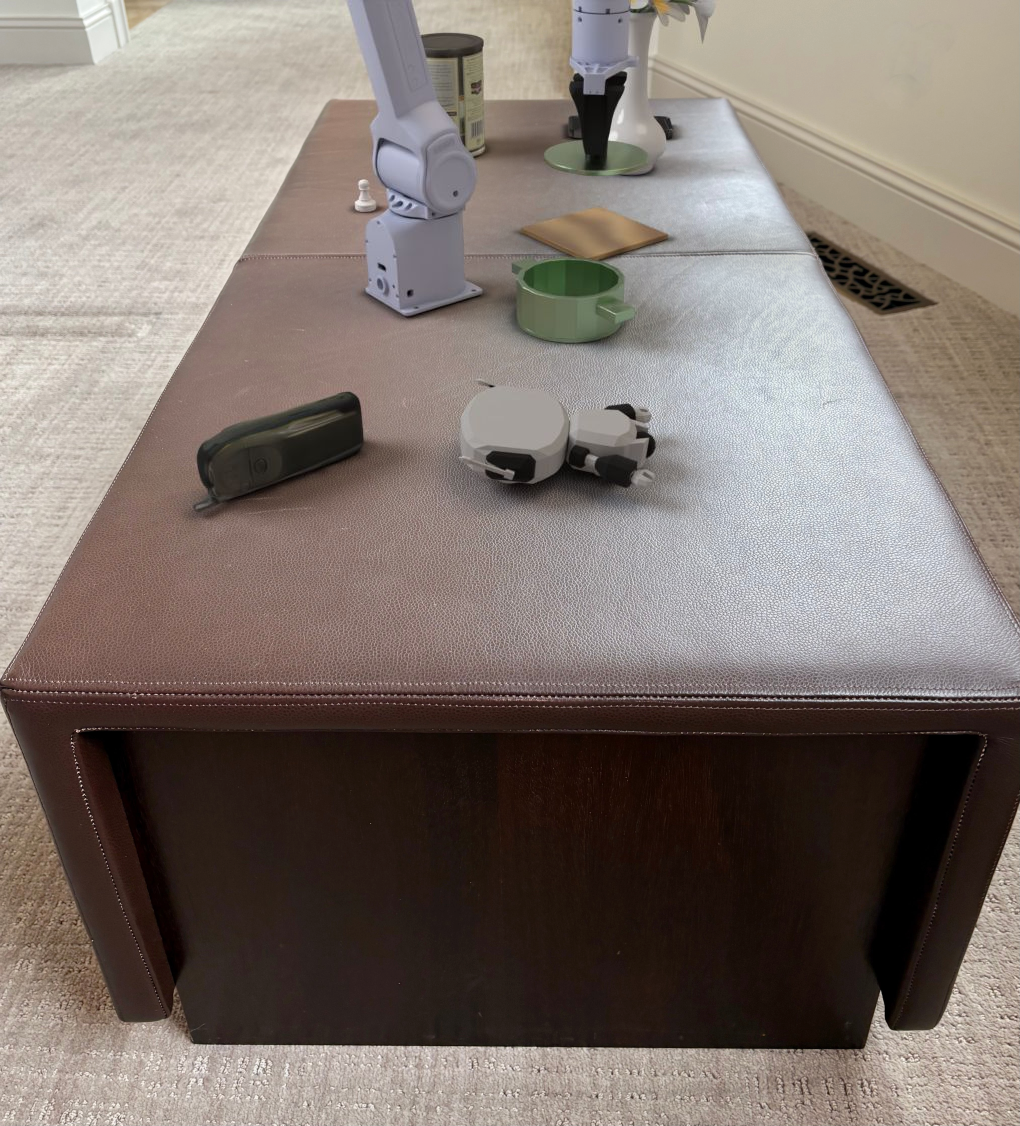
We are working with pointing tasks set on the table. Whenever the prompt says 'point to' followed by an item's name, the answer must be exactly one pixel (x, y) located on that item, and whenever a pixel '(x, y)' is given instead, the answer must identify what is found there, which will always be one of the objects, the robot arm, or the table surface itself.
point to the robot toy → (552, 438)
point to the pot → (570, 299)
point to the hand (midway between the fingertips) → (595, 149)
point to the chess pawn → (364, 198)
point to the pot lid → (596, 159)
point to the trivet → (594, 233)
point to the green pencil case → (279, 447)
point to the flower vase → (633, 107)
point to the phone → (662, 120)
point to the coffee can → (459, 83)
